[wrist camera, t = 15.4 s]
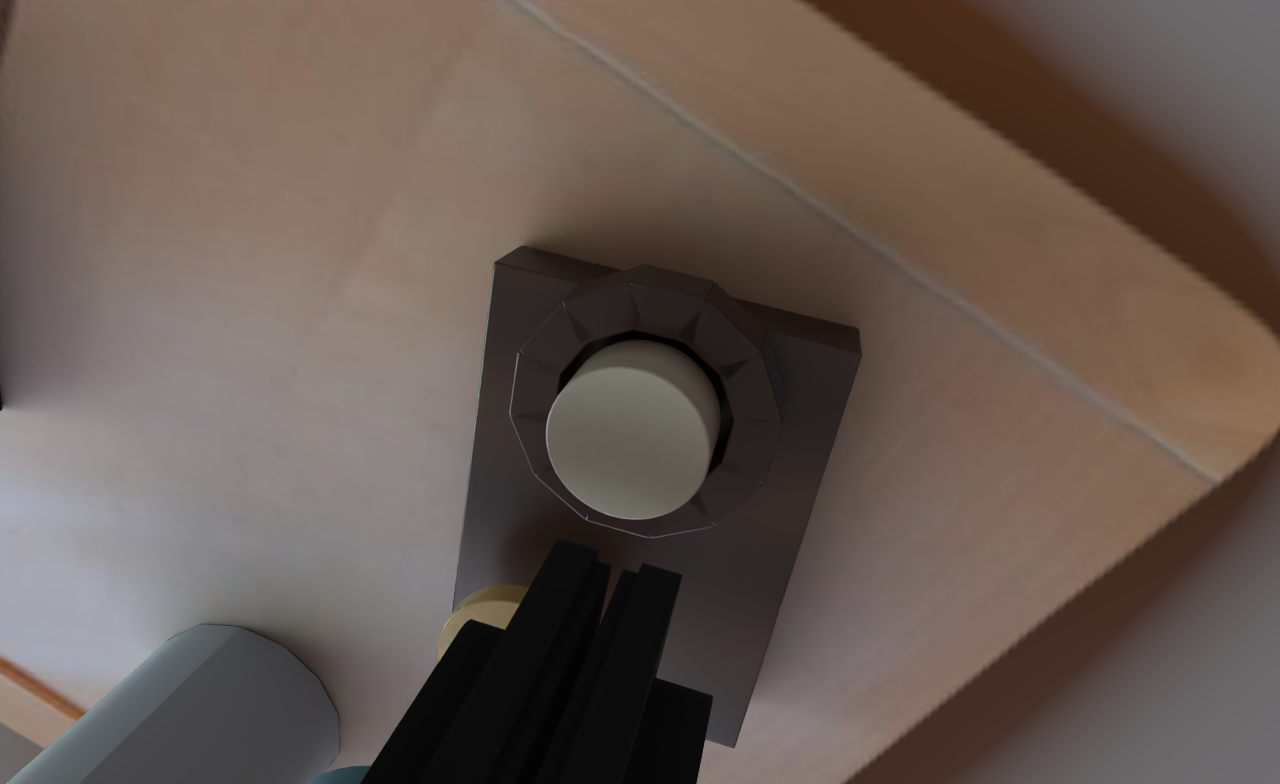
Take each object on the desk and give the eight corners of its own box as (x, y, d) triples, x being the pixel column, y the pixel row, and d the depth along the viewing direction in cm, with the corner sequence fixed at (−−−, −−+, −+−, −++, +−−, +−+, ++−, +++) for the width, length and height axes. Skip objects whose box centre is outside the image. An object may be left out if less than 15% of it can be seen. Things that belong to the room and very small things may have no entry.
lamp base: (525, 212, 24) (470, 240, 20) (870, 296, 23) (877, 342, 19) (471, 618, 30) (422, 696, 26) (741, 701, 29) (727, 794, 25)
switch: (582, 321, 21) (557, 347, 19) (737, 361, 20) (727, 392, 18) (558, 458, 22) (534, 495, 21) (702, 498, 22) (690, 539, 20)
